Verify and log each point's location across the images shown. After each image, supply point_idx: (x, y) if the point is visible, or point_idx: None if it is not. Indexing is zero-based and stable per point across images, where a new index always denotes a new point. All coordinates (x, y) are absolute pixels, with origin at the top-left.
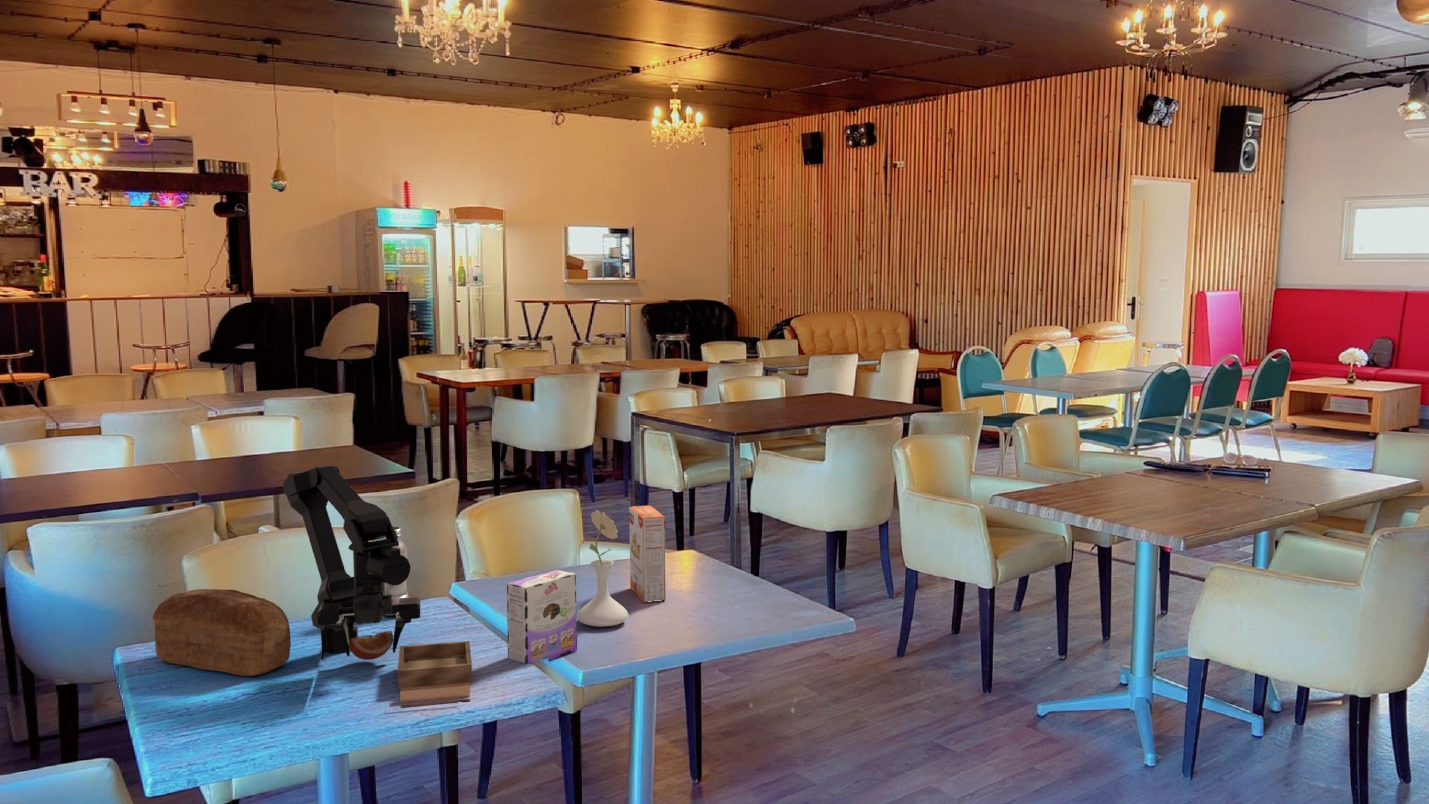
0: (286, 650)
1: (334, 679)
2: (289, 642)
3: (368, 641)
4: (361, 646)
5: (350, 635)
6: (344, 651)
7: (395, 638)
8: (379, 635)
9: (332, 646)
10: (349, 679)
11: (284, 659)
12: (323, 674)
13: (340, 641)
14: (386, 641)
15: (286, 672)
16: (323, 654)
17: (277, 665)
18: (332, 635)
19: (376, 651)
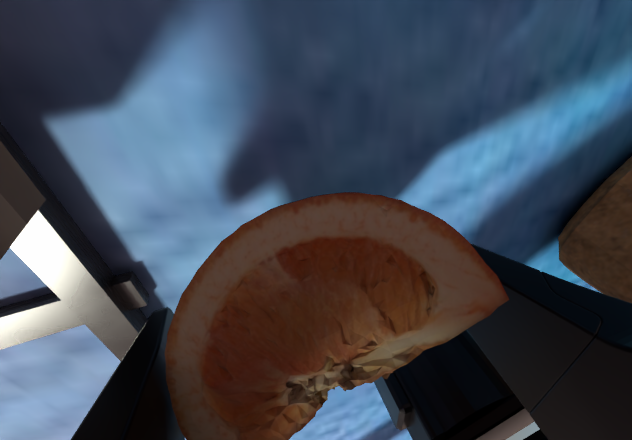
0: (616, 250)
1: (440, 82)
2: (627, 283)
3: (353, 321)
4: (395, 249)
5: (416, 387)
6: None
7: (112, 421)
8: (285, 411)
9: None
10: (371, 74)
11: (590, 225)
12: (473, 154)
13: (441, 350)
14: (214, 371)
15: (569, 174)
16: None
17: (608, 192)
18: (483, 364)
19: (259, 244)
